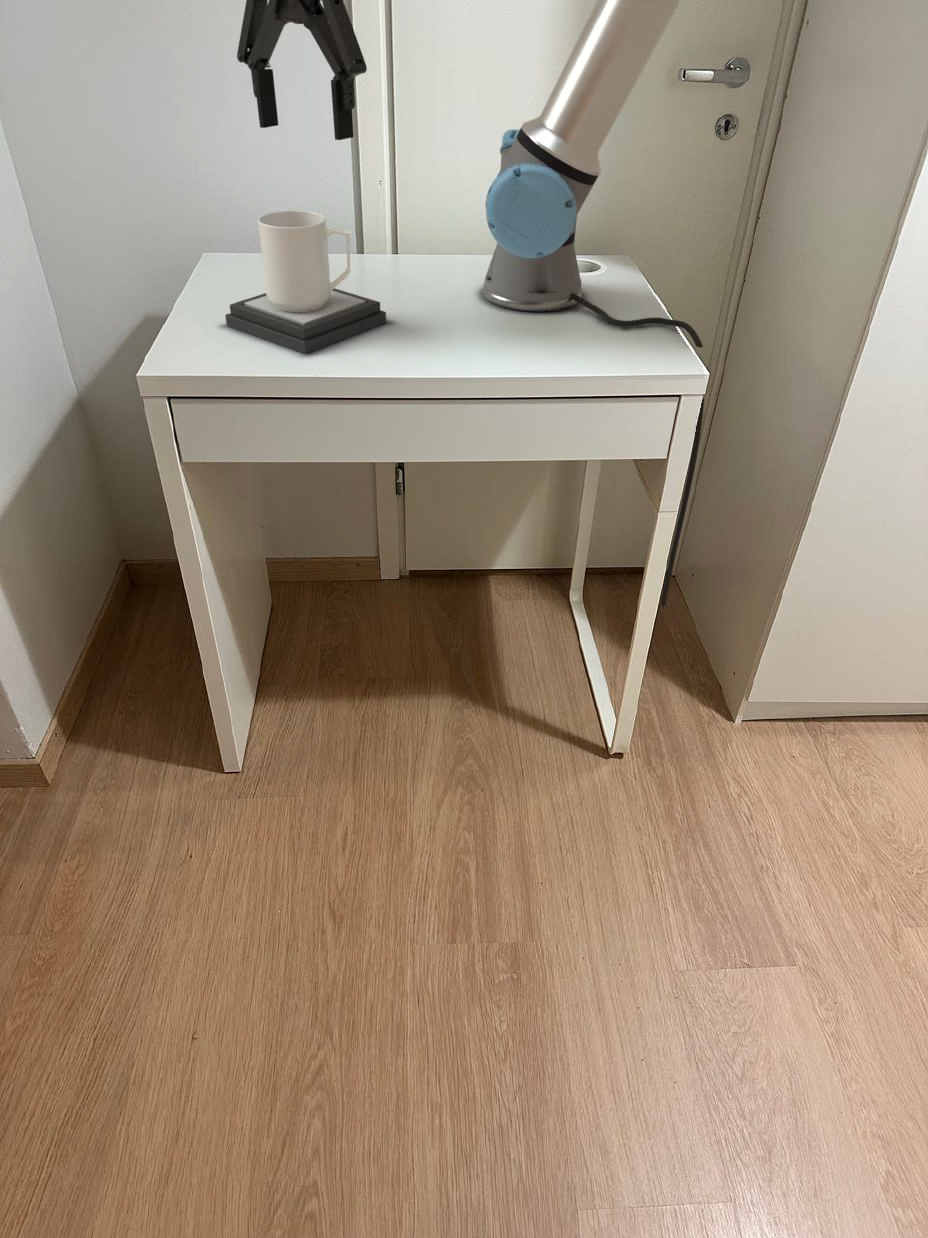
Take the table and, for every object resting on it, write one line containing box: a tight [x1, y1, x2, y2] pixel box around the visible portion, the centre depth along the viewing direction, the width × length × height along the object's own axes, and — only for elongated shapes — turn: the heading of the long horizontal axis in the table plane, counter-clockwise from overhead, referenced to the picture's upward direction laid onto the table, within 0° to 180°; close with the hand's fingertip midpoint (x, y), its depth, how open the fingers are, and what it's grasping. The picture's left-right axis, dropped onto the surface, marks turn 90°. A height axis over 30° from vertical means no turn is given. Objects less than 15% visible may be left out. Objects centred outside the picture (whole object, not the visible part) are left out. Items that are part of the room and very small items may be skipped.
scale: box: [224, 287, 387, 355], centre depth 125 cm, size 16×16×3 cm
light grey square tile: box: [244, 291, 366, 326], centre depth 124 cm, size 12×12×1 cm
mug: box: [257, 210, 351, 312], centre depth 120 cm, size 12×9×11 cm
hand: (305, 132), depth 116 cm, fingers open, 13 cm apart
